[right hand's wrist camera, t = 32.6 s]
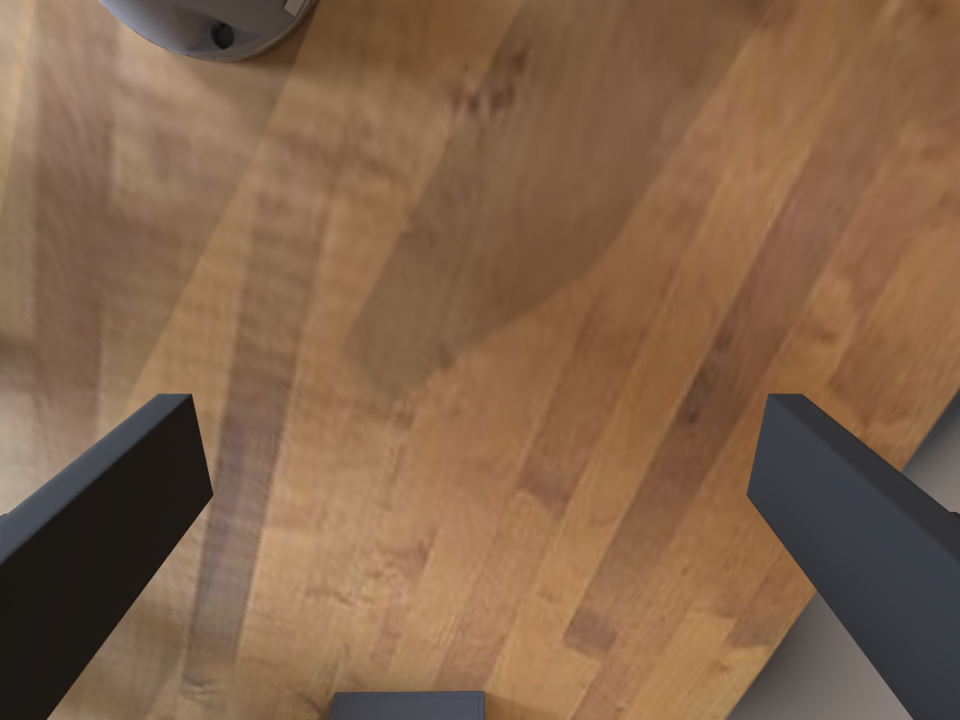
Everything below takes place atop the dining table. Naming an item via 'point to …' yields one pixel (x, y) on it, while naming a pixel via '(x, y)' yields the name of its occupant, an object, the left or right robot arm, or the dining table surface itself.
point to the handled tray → (408, 706)
